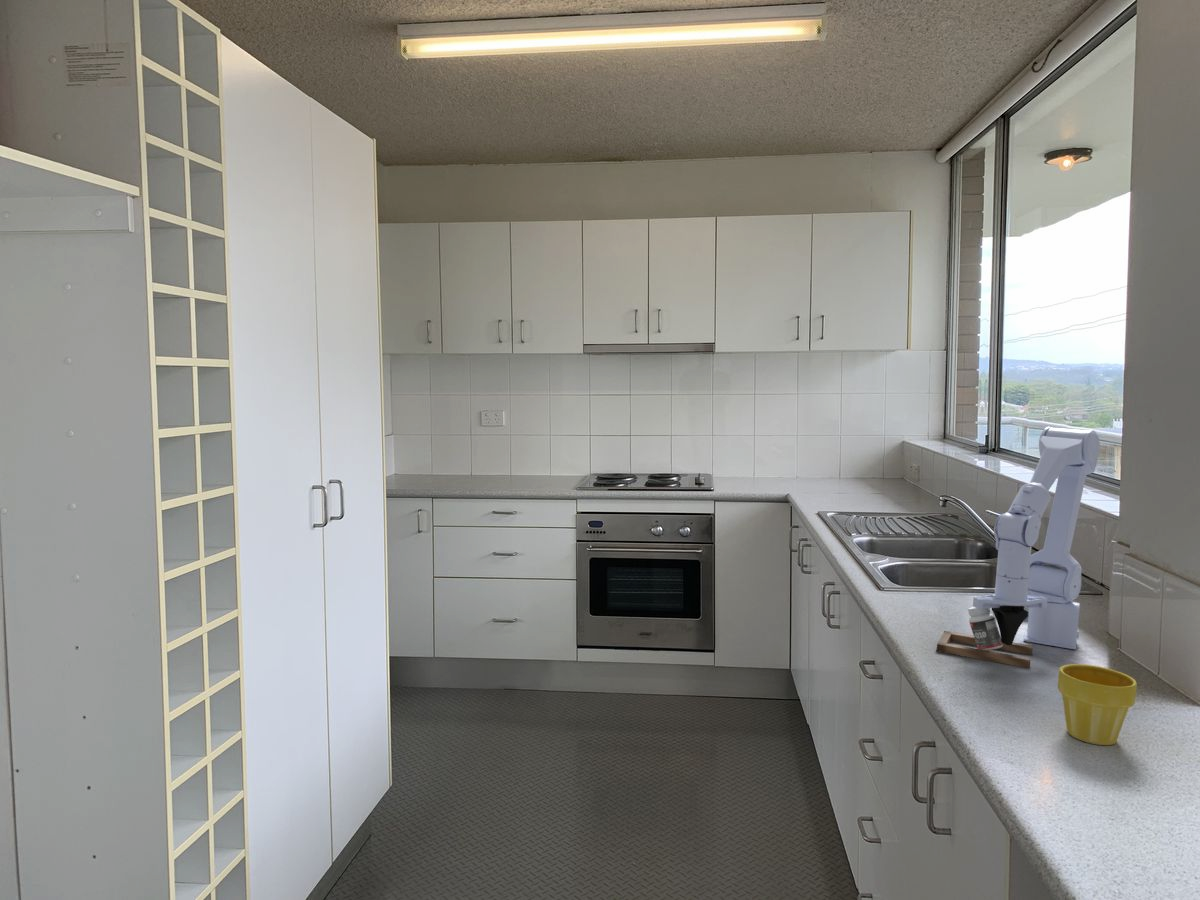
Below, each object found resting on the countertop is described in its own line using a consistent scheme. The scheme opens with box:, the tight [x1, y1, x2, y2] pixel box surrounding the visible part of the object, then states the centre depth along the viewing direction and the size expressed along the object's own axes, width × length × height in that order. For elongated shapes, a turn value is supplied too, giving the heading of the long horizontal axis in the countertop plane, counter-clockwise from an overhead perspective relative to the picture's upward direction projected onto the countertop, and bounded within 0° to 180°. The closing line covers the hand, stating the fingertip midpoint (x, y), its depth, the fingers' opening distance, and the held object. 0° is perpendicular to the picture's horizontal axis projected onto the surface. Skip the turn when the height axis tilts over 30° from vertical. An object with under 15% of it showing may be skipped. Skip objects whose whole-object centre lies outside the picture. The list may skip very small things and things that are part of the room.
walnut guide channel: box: [936, 630, 1034, 669], centre depth 174 cm, size 16×10×2 cm, turn 61°
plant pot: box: [1057, 663, 1138, 746], centre depth 135 cm, size 10×10×10 cm
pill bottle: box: [967, 606, 1003, 651], centre depth 174 cm, size 5×5×8 cm
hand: (1006, 643), depth 172 cm, fingers closed
